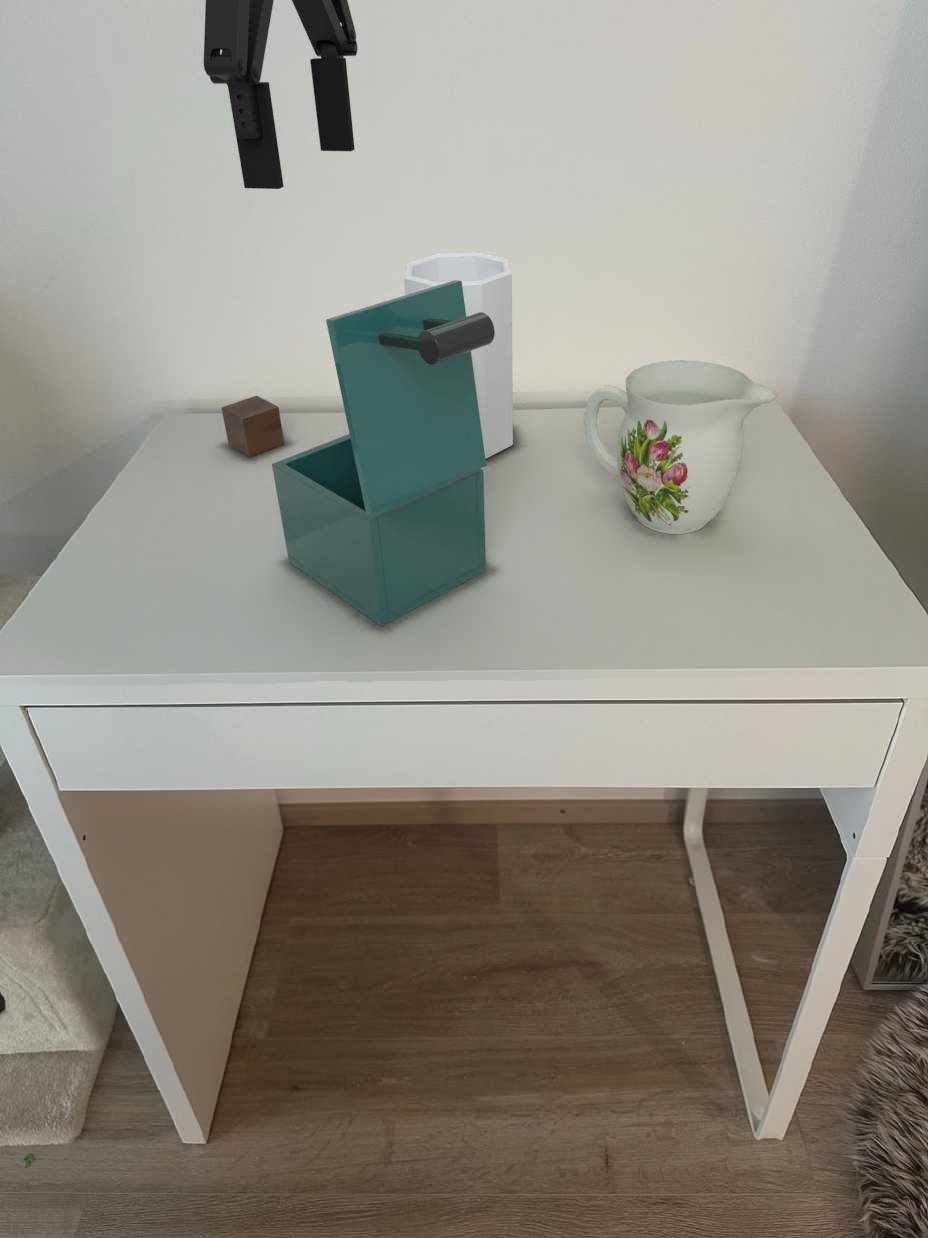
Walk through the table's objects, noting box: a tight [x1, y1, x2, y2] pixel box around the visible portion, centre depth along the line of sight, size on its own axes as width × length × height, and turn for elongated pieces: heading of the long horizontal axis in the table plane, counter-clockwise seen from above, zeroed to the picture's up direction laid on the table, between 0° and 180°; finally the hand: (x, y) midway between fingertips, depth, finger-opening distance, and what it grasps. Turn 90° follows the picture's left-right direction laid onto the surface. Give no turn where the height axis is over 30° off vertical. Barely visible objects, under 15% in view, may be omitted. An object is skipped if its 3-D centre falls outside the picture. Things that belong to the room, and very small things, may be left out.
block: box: [220, 395, 285, 458], centre depth 102 cm, size 4×4×4 cm
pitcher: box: [583, 359, 779, 535], centre depth 84 cm, size 11×18×14 cm, turn 51°
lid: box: [325, 280, 495, 517], centre depth 67 cm, size 14×12×8 cm
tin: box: [271, 433, 487, 627], centre depth 80 cm, size 14×12×10 cm
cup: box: [403, 251, 514, 460], centre depth 97 cm, size 11×11×18 cm
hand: (303, 167), depth 72 cm, fingers open, 13 cm apart
